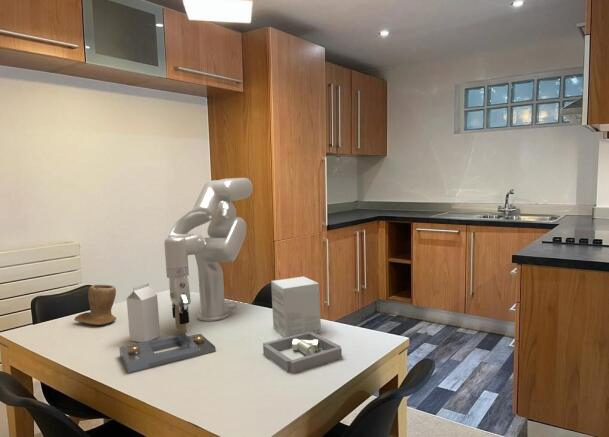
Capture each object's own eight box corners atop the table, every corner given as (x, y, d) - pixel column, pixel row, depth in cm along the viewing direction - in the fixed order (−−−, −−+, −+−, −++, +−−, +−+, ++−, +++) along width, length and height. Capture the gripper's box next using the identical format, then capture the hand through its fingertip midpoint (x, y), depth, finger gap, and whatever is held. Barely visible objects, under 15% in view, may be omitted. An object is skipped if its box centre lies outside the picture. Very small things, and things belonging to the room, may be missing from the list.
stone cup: (124, 320, 176) (121, 283, 175) (98, 329, 166) (94, 290, 164) (100, 315, 183) (97, 280, 182) (73, 324, 173) (70, 287, 172)
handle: (193, 332, 158) (190, 291, 156) (178, 337, 153) (175, 295, 151) (185, 329, 161) (182, 289, 159) (170, 335, 156) (167, 293, 154)
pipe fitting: (315, 359, 130) (320, 349, 137) (315, 347, 130) (319, 337, 136) (289, 358, 132) (295, 348, 139) (289, 346, 132) (294, 336, 138)
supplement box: (306, 322, 163) (304, 275, 162) (321, 332, 151) (319, 282, 150) (272, 328, 158) (270, 280, 156) (285, 339, 146) (283, 288, 144)
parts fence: (311, 339, 145) (310, 330, 145) (344, 357, 129) (343, 347, 129) (261, 353, 135) (260, 343, 135) (290, 374, 120) (289, 363, 120)
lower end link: (200, 337, 151) (200, 329, 151) (215, 351, 139) (215, 341, 138) (138, 352, 141) (137, 342, 141) (148, 368, 128) (147, 357, 128)
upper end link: (184, 341, 149) (183, 328, 148) (198, 355, 136) (197, 341, 135) (120, 356, 138) (118, 342, 138) (128, 373, 125) (127, 357, 125)
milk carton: (160, 336, 155) (156, 283, 153) (145, 343, 148) (140, 288, 147) (145, 334, 158) (141, 282, 156) (129, 341, 151) (125, 287, 150)
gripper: (195, 274, 149) (198, 324, 151) (181, 267, 164) (184, 312, 165) (173, 277, 145) (177, 329, 147) (160, 269, 160) (164, 316, 162)
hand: (180, 320), depth 156 cm, fingers open, 8 cm apart
